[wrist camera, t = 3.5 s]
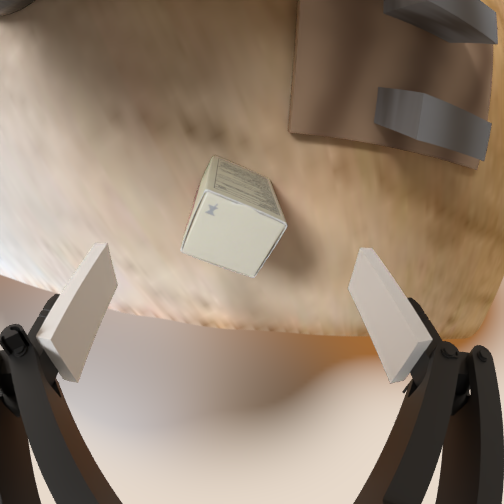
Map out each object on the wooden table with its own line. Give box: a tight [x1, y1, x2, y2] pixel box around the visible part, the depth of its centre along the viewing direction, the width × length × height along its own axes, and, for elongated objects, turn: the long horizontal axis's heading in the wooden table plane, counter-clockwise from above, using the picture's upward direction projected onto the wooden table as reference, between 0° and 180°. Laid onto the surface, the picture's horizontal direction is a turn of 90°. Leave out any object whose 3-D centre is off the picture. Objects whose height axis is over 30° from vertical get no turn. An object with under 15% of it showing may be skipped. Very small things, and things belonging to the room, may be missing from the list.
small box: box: [180, 155, 288, 278], centre depth 19 cm, size 5×4×8 cm
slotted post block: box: [288, 0, 498, 170], centre depth 13 cm, size 20×16×7 cm
